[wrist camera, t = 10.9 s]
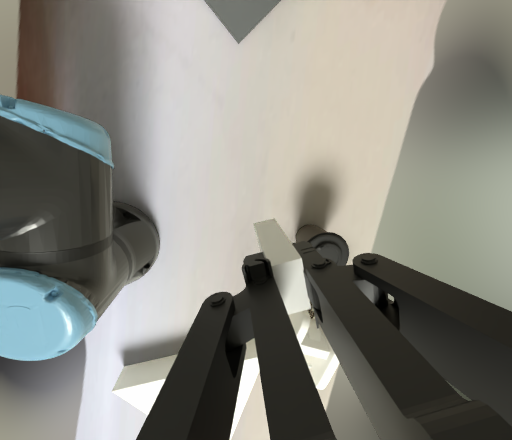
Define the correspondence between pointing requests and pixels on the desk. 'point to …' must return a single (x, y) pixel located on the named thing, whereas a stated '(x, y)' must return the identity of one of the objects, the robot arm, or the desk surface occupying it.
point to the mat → (241, 14)
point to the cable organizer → (314, 348)
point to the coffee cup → (325, 243)
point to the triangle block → (155, 372)
